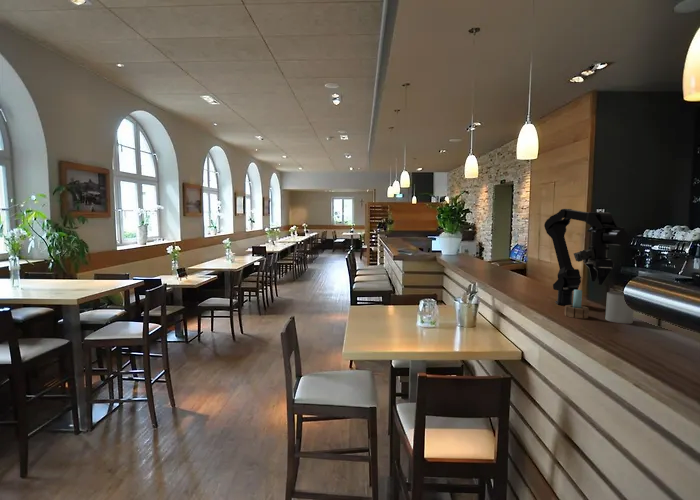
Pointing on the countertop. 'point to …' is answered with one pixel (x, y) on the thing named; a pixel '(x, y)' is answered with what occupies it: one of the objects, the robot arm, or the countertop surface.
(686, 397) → the countertop surface
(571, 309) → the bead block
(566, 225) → the robot arm
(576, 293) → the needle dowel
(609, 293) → the cup
